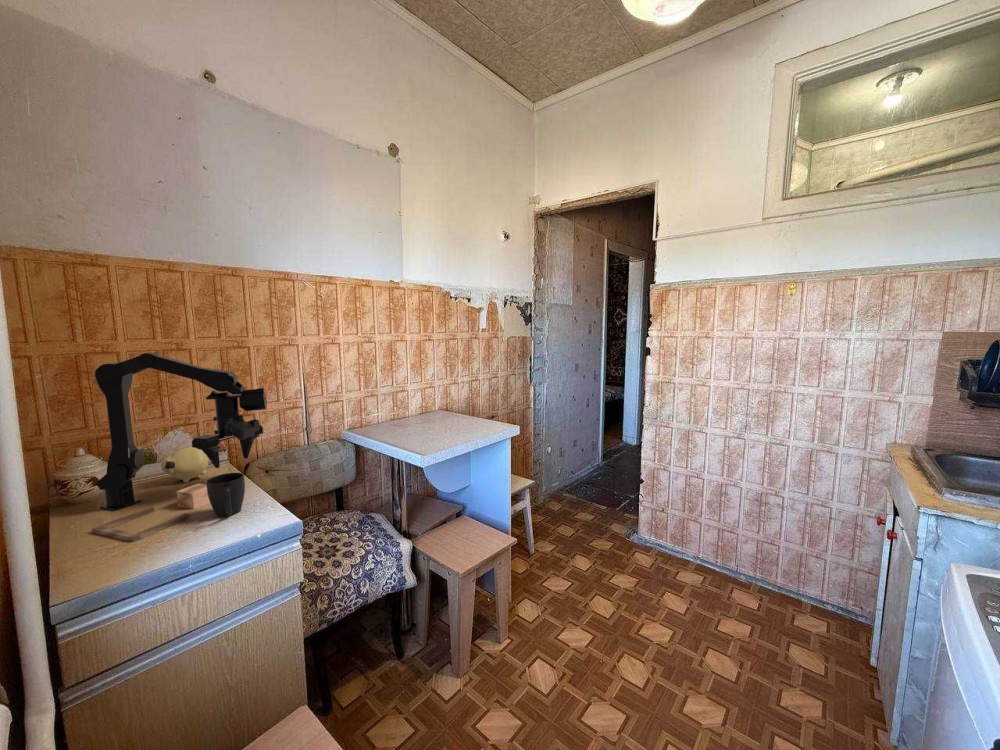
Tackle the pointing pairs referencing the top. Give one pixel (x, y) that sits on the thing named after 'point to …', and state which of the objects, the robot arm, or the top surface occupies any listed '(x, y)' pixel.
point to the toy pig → (186, 464)
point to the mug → (226, 493)
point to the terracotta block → (193, 496)
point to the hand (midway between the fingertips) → (232, 463)
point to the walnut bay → (108, 531)
